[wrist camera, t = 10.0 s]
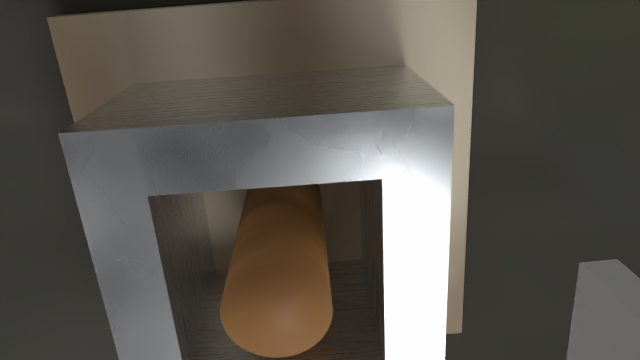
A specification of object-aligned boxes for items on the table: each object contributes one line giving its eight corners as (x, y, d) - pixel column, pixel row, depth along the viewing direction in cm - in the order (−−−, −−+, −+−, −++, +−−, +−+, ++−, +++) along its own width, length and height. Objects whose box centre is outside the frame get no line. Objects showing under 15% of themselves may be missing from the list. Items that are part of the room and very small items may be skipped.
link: (178, 309, 18) (137, 428, 13) (132, 83, 15) (57, 133, 10) (405, 292, 18) (442, 403, 13) (406, 64, 15) (454, 105, 10)
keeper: (143, 341, 19) (67, 524, 13) (62, 14, 15) (-119, 46, 8) (453, 315, 20) (530, 484, 13) (466, -16, 15) (593, -8, 9)
